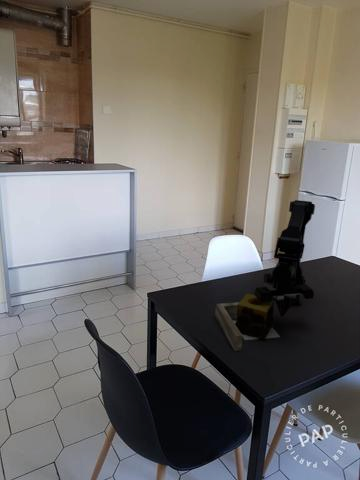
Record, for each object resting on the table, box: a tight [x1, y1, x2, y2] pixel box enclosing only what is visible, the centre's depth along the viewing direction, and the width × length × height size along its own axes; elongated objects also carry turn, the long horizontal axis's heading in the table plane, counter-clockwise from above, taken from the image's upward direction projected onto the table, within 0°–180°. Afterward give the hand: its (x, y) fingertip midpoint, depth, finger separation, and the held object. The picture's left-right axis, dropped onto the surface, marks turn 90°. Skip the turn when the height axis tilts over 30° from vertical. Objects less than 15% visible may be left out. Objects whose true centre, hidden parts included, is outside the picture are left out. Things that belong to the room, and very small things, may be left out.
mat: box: [233, 320, 281, 341], centre depth 124 cm, size 12×12×1 cm
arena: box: [214, 301, 243, 351], centre depth 123 cm, size 20×21×5 cm
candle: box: [235, 293, 275, 341], centre depth 122 cm, size 10×10×10 cm
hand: (281, 316), depth 124 cm, fingers closed
